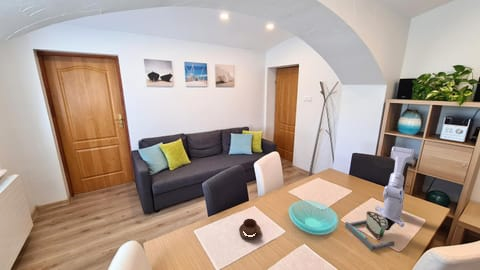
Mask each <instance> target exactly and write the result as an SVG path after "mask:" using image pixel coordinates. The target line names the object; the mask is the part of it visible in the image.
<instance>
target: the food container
mask: <svg viewBox="0 0 480 270" xmlns="http://www.w3.org/2000/svg"><path fill="white" fill-rule="evenodd" d="M381 215H382V214H381V213H380V214H379V213H377V212H374V211H370V210H367V211H366V219H365V220H366V224H365V228H366V230H367V231H368V232H369V233H370V234H371V235H372V236H373V238H375V240H376V241H381V240H382V239H383V238H384V235H385V232H386V230H385V229H387V228H388V222H387V220H386V219H385V218H384V217H383V216H381Z"/></svg>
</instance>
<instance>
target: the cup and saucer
mask: <svg viewBox="0 0 480 270" xmlns="http://www.w3.org/2000/svg"><path fill="white" fill-rule="evenodd" d="M243 231H244V232H245V233H246V234H247V235H253V234H255V233H256V234H255V236H253V237H248V236H245V235H244V233H243ZM238 232H239V234H240V235H241V236H242V237H243V238H245V239H249V240H252V239H256V238H258V237H259V236H260V235H261V232H262V229H261V227H260V226H259V224H258V223H257V221H256V220H255V219H254V218H247V219H245V220H243V223H241V225H240V226H239V228H238Z"/></svg>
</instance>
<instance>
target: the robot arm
mask: <svg viewBox="0 0 480 270" xmlns="http://www.w3.org/2000/svg"><path fill="white" fill-rule="evenodd" d="M414 157H415V149H414V148H405V147H400V146H392V148H391V152H390V158H391V159H392V160H393V161H395V162H394V169H393V172H392V173H390V177H389V180H388V185H385V186H384V189H383V194H382V198H383V199H384V201H383V205H382V206H383V207H380V206H375V207H374V210H375V211H378V212H379V213H380V215H381V216H383V217H384V218H385V219H386V220H387V222H388V228H387V229H385V232H386V231H390V230H391V228H392V226H393V225H395V224H397V225H398V227H399V228H403V227H404V228H405V222H403V220H401V219H400V218H399V217H403V215H404V214H402V213H403V208H404V204H403V203H404V199H405V192H406V191H405V190H404V181H405V176H404V175H403V174H404V169H405V166H406V164H407V163H411V162H412V161H413V160H414Z"/></svg>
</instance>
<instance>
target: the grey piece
mask: <svg viewBox="0 0 480 270" xmlns="http://www.w3.org/2000/svg"><path fill="white" fill-rule="evenodd" d="M344 225H345V226H344V228H346V229H347V230H348V231H349V232H350V233H351V234H352V235H353V236H355V238H356V239H357V240H359V241H360V243H361V244H363V245H364V246H365V247H366V248H367V249H368V250H369V251H370V252H373V251H378V250H382V249H386V248H389V247H394V246H395V241H394V240H391V241H387V242H382V243H378V244H374V243H373V242H371V241H370V240H369V239H368V238H367V237H366V235H365V234H363V233H362V232H361V231H359V229H357V228H356V227H358V226H363V225H366V219H364V220H358V221H353V222H349V221H346V222H345V224H344Z"/></svg>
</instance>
